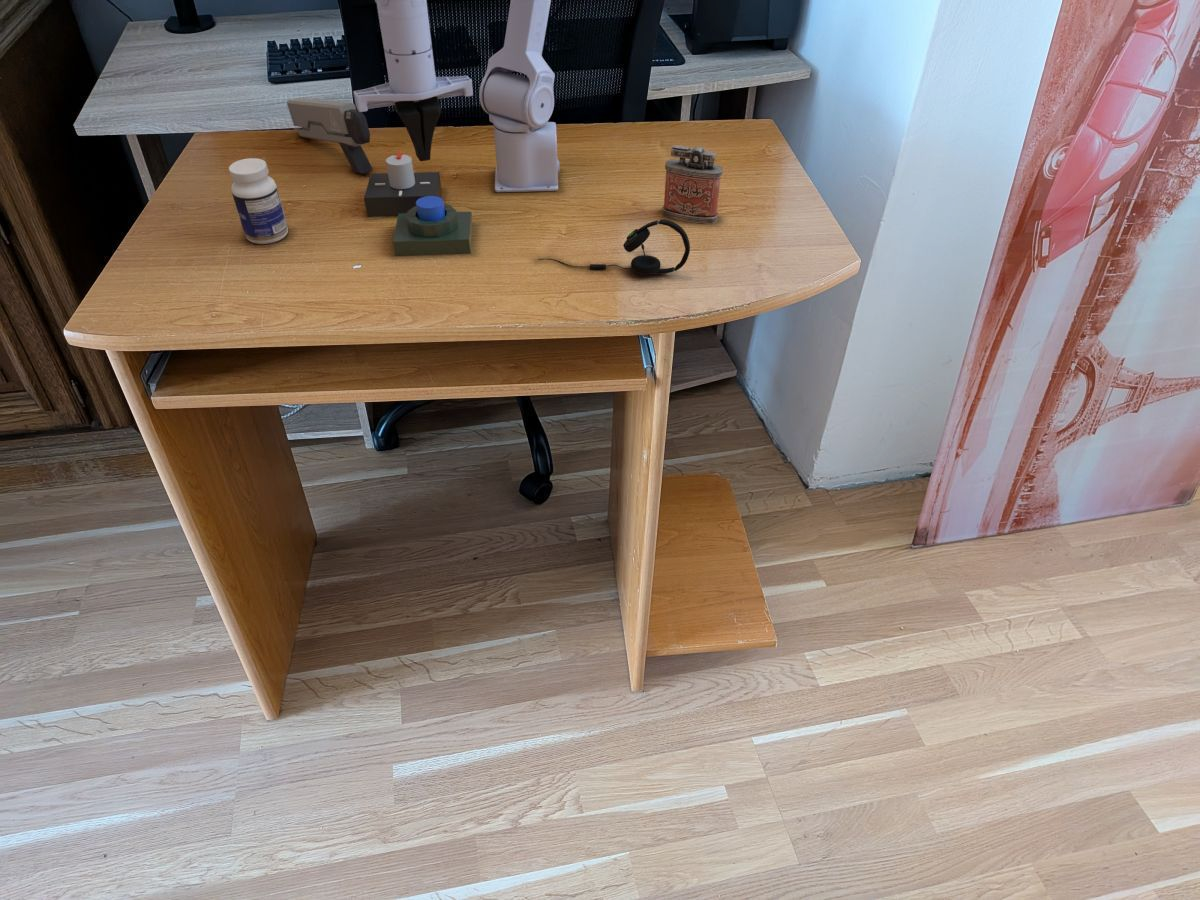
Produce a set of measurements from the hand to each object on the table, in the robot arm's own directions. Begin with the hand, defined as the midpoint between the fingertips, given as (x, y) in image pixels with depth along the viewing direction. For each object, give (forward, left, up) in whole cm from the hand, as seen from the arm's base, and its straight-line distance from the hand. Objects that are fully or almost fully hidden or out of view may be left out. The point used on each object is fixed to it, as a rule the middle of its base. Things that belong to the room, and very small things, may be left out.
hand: (423, 157), depth 110 cm
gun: (+18, -26, -10) cm, 33 cm away
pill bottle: (+23, +1, -10) cm, 25 cm away
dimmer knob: (+5, -8, -7) cm, 12 cm away
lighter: (-36, -1, -10) cm, 38 cm away
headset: (-24, +11, -10) cm, 29 cm away
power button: (0, +4, -7) cm, 7 cm away
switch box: (0, +4, -10) cm, 11 cm away
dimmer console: (+5, -8, -10) cm, 14 cm away
